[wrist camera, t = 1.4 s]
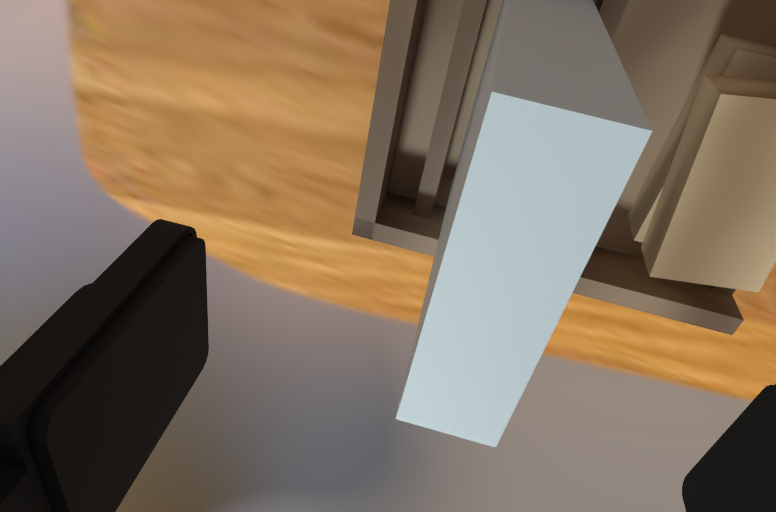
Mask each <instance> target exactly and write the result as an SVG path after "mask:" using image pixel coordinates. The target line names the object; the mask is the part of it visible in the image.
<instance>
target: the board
mask: <svg viewBox="0 0 776 512" xmlns="http://www.w3.org/2000/svg"><path fill="white" fill-rule="evenodd" d="M651 133H652V129H651V126H650V124H649V122H648V120H647V118H646V115H645V113H644V111H643V109H642V107H641V104H640V102H639V100H638V98H637V96H636V93H635V91H634V89H633V87H632V85H631V82H630V80H629V78H628V76H627V74H626V72H625V69H624V67H623V65H622V63H621V61H620V58H619V56H618V54H617V52H616V50H615V47H614V45H613V43H612V41H611V39H610V36H609V34H608V32H607V30H606V28H605V25H604V23H603V21H602V19H601V17H600V14H599V12H598V10H597V8H596V6H595V4H594V1H593V0H503V1H502V5H501V9H500V12H499V16H498V19H497V23H496V27H495V30H494V34H493V37H492V41H491V45H490V48H489V52H488V55H487V59H486V63H485V66H484V70H483V73H482V77H481V81H480V84H479V88H478V91H477V95H476V99H475V102H474V106H473V109H472V113H471V117H470V120H469V124H468V127H467V131H466V135H465V138H464V142H463V145H462V149H461V153H460V156H459V160H458V163H457V167H456V171H455V174H454V178H453V181H452V185H451V190H450V194H449V198H448V202H447V206H446V211H445V215H444V219H443V223H442V227H441V231H440V236H439V240H438V244H437V248H436V252H435V257H434V261H433V265H432V269H431V273H430V278H429V282H428V286H427V290H426V294H425V298H424V303H423V307H422V311H421V315H420V319H419V324H418V328H417V332H416V336H415V340H414V345H413V349H412V353H411V357H410V361H409V366H408V370H407V374H406V378H405V382H404V387H403V390H402V395H401V399H400V403H399V407H398V411H397V416H396V419H398V420H401V421H405V422H408V423H412V424H416V425H419V426H423V427H426V428H429V429H433V430H436V431H440V432H443V433H447V434H450V435H455V436H457V437H461V438H465V439H468V440H471V441H475V442H478V443H482V444H485V445H489V446H493V447H496V446H497V443H498V442H499V440H500V437H501V436H502V433H503V431H504V430H505V427H506V425H507V423H508V421H509V419H510V417H511V415H512V413H513V411H514V409H515V407H516V405H517V403H518V401H519V399H520V397H521V395H522V393H523V391H524V389H525V387H526V385H527V383H528V381H529V379H530V377H531V375H532V373H533V371H534V369H535V367H536V365H537V363H538V361H539V359H540V357H541V355H542V353H543V351H544V349H545V347H546V345H547V343H548V341H549V339H550V337H551V335H552V333H553V331H554V329H555V327H556V325H557V323H558V321H559V319H560V317H561V315H562V313H563V311H564V309H565V307H566V305H567V303H568V301H569V299H570V297H571V295H572V292H573V290H574V288H575V286H576V284H577V282H578V280H579V278H580V276H581V274H582V272H583V270H584V268H585V266H586V264H587V262H588V260H589V258H590V256H591V254H592V252H593V250H594V248H595V246H596V244H597V242H598V240H599V238H600V236H601V234H602V232H603V230H604V228H605V226H606V224H607V222H608V220H609V218H610V216H611V214H612V212H613V210H614V208H615V206H616V204H617V202H618V200H619V198H620V196H621V194H622V192H623V190H624V188H625V186H626V184H627V182H628V180H629V178H630V176H631V174H632V172H633V170H634V168H635V166H636V164H637V161H638V159H639V157H640V155H641V153H642V151H643V149H644V147H645V145H646V143H647V141H648V139H649V137H650V135H651Z"/></svg>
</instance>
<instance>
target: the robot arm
mask: <svg viewBox="0 0 776 512" xmlns="http://www.w3.org/2000/svg"><path fill="white" fill-rule="evenodd" d="M208 348H209V346H208V314H207V285H206V251H205V242H204V240H203V239H201V238H197V235H196V231H195V229H194V228H192V227H189V226H185V225H181V224H178V223H174V222H170V221H166V220H162V219H159V220H156V221H155V222H153V223H152V224H151V225H150V226H149V227H148V228H147V229H146V230H145V231H144V232H143V233H142V234H141V235H140V236H139V237H138V238H137V239H136V240H135V241H134V242H133V243H132V244H131V245H130V246H129V247H128V248H127V249H126V250H125V251H124V252H123V253H122V254H121V255H120V256H119V257H118V258H117V259H116V260H115V261H114V262H113V263H112V264H111V265H110V266H109V267H108V268H107V269H106V270H105V271H104V272H103V273H102V274H101V275H100V276H99V277H98V278H97V280H95V281H94V282H93V283H92V284H88V285H85V286H83V287H82V288H81V289H79V290H78V291H77V292H75V293H74V294H73V295H72V296H71V297H70V299H68V300H67V301H66V302H65V303H64V304H63V305H62V306H61V307H60V308H59V309H58V310H57V311H56V312H55V313H54V314H53V315H52V316H51V317H50V318H49V319H48V320H47V321H46V322H45V323H44V324H43V325H42V326H41V327H40V328H39V329H38V330H37V331H36V332H35V333H34V334H33V335H32V336H31V337H30V338H29V339H28V340H27V341H26V342H25V343H24V344H23V345H22V346H21V347H20V348H19V349H18V350H17V351H16V352H14V354H12V356H10V357H9V358H8V359H7V360H6V361H5V362H4V363H3V364H2V365H1V366H0V512H115V511H116V510H117V508H118V506H119V505H120V503H121V501H122V499H123V498H124V497H125V495H126V493H127V492H128V490H129V488H130V487H131V485H132V483H133V482H134V480H135V479H136V477H137V475H138V474H139V472H140V470H141V469H142V467H143V465H144V464H145V462H146V461H147V459H148V457H149V456H150V454H151V452H152V451H153V449H154V448H155V446H156V444H157V443H158V441H159V439H160V438H161V436H162V434H163V433H164V431H165V429H166V428H167V426H168V425H169V423H170V421H171V420H172V418H173V416H174V415H175V413H176V412H177V410H178V408H179V407H180V405H181V403H182V402H183V400H184V399H185V397H186V395H187V394H188V392H189V390H190V389H191V387H192V386H193V384H194V382H195V381H196V379H197V377H198V376H199V374H200V372H201V371H202V369H203V367H204V365H205V362H206V360H207V356H208ZM682 496H683V501H684V504H685V508H686V512H776V384H775V385H769V386H767V387H765V388H764V389H763V390H762V391H761V392H760V393H759V395H758V396H757V397H756V398H755V399H754V400H753V401H752V402H751V404H750V405H749V406H748V407H747V408H746V409H745V410H744V411H743V413H742V414H741V415H740V416H739V417H738V418H737V419H736V420H735V422H734V423H733V424H732V425H731V426H730V427H729V428H728V429H727V431H726V432H725V433H724V434H723V435H722V436H721V437H720V438H719V439H718V440H717V442H716V443H715V444H714V445H713V446H712V447H711V448H710V449H709V451H708V452H707V453H706V454H705V455H704V456H703V457H702V458H701V460H700V461H699V462H698V463H697V464H696V465H695V466H694V467H693V468H692V470H691V471H690V472H689V473H688V474H687V476H686V477H685V479H684V482H683V487H682Z"/></svg>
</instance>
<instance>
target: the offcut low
mask: <svg viewBox="0 0 776 512" xmlns="http://www.w3.org/2000/svg"><path fill="white" fill-rule="evenodd" d="M704 74H709V75H720V76H731V77H742V78H753V79H763V80H774V81H776V46H772V45H767V44H763V43H759V42H754V41H750V40H746V39H741V38H737V37H733V36H728V35H724V34H720V36H719V38H718V40H717V42H716V44H715V46H714V48H713V50H712V52H711V54H710V56H709V58H708V60H707V62H706V63H705V65H704V67H703V69H702V71H701V73H700V75H699V77H698V79H697V81H696V83H695V85H694V87H693V89H692V91H691V92H690V94H689V96H688V98H687V100H686V102H685V104H684V106H683V108H682V110H681V112H680V114H679V116H678V118H677V120H676V121H675V123H674V125H673V127H672V129H671V131H670V133H669V135H668V137H667V139H666V141H665V143H664V145H663V147H662V149H661V150H660V152H659V154H658V156H657V158H656V160H655V162H654V164H653V166H652V168H651V170H650V172H649V174H648V176H647V178H646V179H645V181H644V183H643V185H642V187H641V189H640V191H639V193H638V195H637V197H636V199H635V201H634V203H633V205H632V207H631V208H630V210H629V212H628V214H627V218H628V221H629V225H630V229H631V232H632V236H633V240H634V241H638V242H642V243H643V241H644V238H645V235H646V232H647V230H648V227H649V224H650V221H651V219H652V216H653V213H654V211H655V208H656V205H657V202H658V200H659V197H660V194H661V191H662V189H663V186H664V183H665V180H666V178H667V175H668V172H669V170H670V167H671V164H672V161H673V159H674V156H675V153H676V150H677V148H678V145H679V142H680V139H681V137H682V134H683V131H684V129H685V126H686V123H687V120H688V118H689V115H690V112H691V109H692V107H693V104H694V101H695V98H696V96H697V93H698V90H699V88H700V85H701V82H702V79H703V77H704Z"/></svg>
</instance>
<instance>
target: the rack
mask: <svg viewBox="0 0 776 512" xmlns="http://www.w3.org/2000/svg"><path fill="white" fill-rule="evenodd" d="M502 1H503V0H390V6H389V12H388V18H387V24H386V30H385V36H384V42H383V49H382V55H381V61H380V67H379V73H378V79H377V85H376V91H375V98H374V104H373V110H372V116H371V122H370V128H369V134H368V141H367V147H366V153H365V159H364V165H363V171H362V177H361V183H360V190H359V196H358V202H357V208H356V214H355V220H354V226H353V233H352V235H356V236H360V237H364V238H367V239H371V240H375V241H379V242H383V243H386V244H390V245H394V246H398V247H401V248H405V249H409V250H413V251H417V252H420V253H424V254H428V255H432V256H435V252H436V248H437V244H438V240H439V236H440V231H441V227H442V223H443V219H444V215H445V211H446V206H447V202H448V198H449V194H450V190H451V185H452V181H453V178H454V174H455V171H456V167H457V163H458V160H459V156H460V153H461V149H462V145H463V142H464V138H465V135H466V131H467V127H468V124H469V120H470V117H471V113H472V109H473V106H474V102H475V99H476V95H477V91H478V88H479V84H480V81H481V77H482V73H483V70H484V66H485V63H486V59H487V55H488V52H489V48H490V45H491V41H492V37H493V34H494V30H495V27H496V23H497V19H498V16H499V12H500V9H501V5H502ZM593 1H594V4H595V6H596V8H597V10H598V12H599V14H600V17H601V19H602V21H603V23H604V25H605V28H606V30H607V32H608V34H609V36H610V39H611V41H612V43H613V45H614V47H615V50H616V52H617V54H618V56H619V58H620V61H621V63H622V65H623V67H624V69H625V72H626V74H627V76H628V78H629V80H630V82H631V85H632V87H633V89H634V91H635V93H636V96H637V98H638V100H639V102H640V104H641V107H642V109H643V111H644V113H645V115H646V118H647V120H648V122H649V124H650V126H651V129H652V133H651V135H650V137H649V139H648V141H647V143H646V145H645V147H644V149H643V151H642V153H641V155H640V157H639V159H638V161H637V164H636V166H635V168H634V170H633V172H632V174H631V176H630V178H629V180H628V182H627V184H626V186H625V188H624V190H623V192H622V194H621V196H620V198H619V200H618V202H617V204H616V206H615V208H614V210H613V212H612V214H611V216H610V218H609V220H608V222H607V224H606V226H605V228H604V230H603V232H602V234H601V236H600V238H599V240H598V242H597V244H596V246H595V248H594V250H593V252H592V254H591V256H590V258H589V260H588V262H587V264H586V266H585V268H584V270H583V272H582V274H581V276H580V278H579V280H578V282H577V284H576V286H575V288H574V290H573V292H572V293H575V294H579V295H583V296H586V297H590V298H594V299H598V300H601V301H605V302H609V303H613V304H616V305H620V306H624V307H628V308H632V309H635V310H639V311H643V312H647V313H650V314H654V315H658V316H662V317H666V318H669V319H673V320H677V321H681V322H684V323H688V324H692V325H696V326H699V327H703V328H707V329H711V330H715V331H718V332H722V333H726V334H730V335H733V333H734V332H735V331H736V329H737V328H738V327H739V326H740V324H741V323H742V322H743V317H742V315H741V313H740V311H739V309H738V307H737V305H736V302H735V300H734V298H733V296H732V294H733V293H734V291H735V290H736V289H732V288H725V287H718V286H711V285H704V284H697V283H690V282H683V281H676V280H669V279H662V278H656V277H649V274H648V270H647V267H646V263H645V260H644V256H643V253H642V249H641V246H642V242H638V241H634V240H633V236H632V232H631V229H630V225H629V221H628V218H627V214H628V212H629V210H630V208H631V207H632V205H633V203H634V201H635V199H636V197H637V195H638V193H639V191H640V189H641V187H642V185H643V183H644V181H645V179H646V178H647V176H648V174H649V172H650V170H651V168H652V166H653V164H654V162H655V160H656V158H657V156H658V154H659V152H660V150H661V149H662V147H663V145H664V143H665V141H666V139H667V137H668V135H669V133H670V131H671V129H672V127H673V125H674V123H675V121H676V120H677V118H678V116H679V114H680V112H681V110H682V108H683V106H684V104H685V102H686V100H687V98H688V96H689V94H690V92H691V91H692V89H693V87H694V85H695V83H696V81H697V79H698V77H699V75H700V73H701V71H702V69H703V67H704V65H705V63H706V62H707V60H708V58H709V56H710V54H711V52H712V50H713V48H714V46H715V44H716V42H717V40H718V38H719V36H720V34H724V35H728V36H733V37H737V38H741V39H746V40H750V41H754V42H759V43H763V44H767V45H772V46H776V0H593Z"/></svg>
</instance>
